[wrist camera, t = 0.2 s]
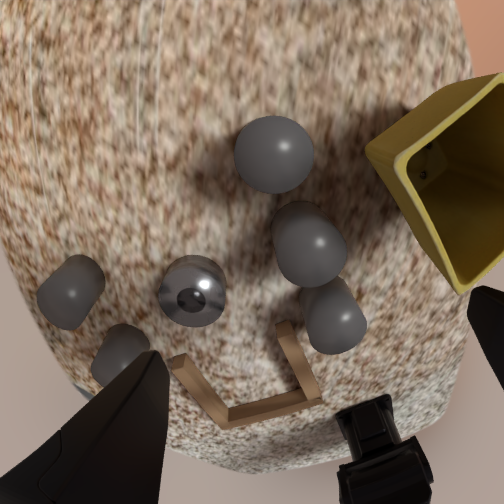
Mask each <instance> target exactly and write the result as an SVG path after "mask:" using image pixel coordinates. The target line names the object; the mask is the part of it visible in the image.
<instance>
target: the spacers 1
mask: <svg viewBox="0 0 504 504" xmlns="http://www.w3.org/2000/svg"><path fill="white" fill-rule="evenodd" d="M104 288H105V277H104V274H103V271H102V269H101V268H100V266H99V265H98V264H97V263H96V262H95V261H94V260H93V259H91V258H89V257H87V256H85V255H73V256H71V257H70V258H69V259H68V260H66V261H65V262H64V263H63V264H62V265H61V266H60V267H59V268H58V269H57V270H56V271H55V272H54V273H53V274H52V275H51V276H50V277H49V278H48V279H47V280H46V281H45V282H44V283H43V284H42V285H41V286H40V288H39V289H38V292H37V302H38V305H39V308H40V310H41V312H42V313H43V315H44V316H45V317H46V318H47V320H48V321H50V322H51V323H52V324H53V325H55V326H56V327H58V328H61V329H64V330H74V329H77V328H78V327H79V326H80V325H81V323H82V322H83V320H84V319H85V317H86V316H87V314H88V313H89V311H90V310H91V308H92V307H93V305H94V304H95V303H96V301H97V300H98V298H99V297H100V295H101V294H102V292H103V291H104ZM149 349H150V343H149V340H148V338H147V337H146V336H145V334H144V333H143V332H142V331H140V330H139V329H138V328H136V327H134V326H131V325H128V324H117V325H114V326H113V327H111V328H110V330H109V332H108V334H107V335H106V337H105V339H104V341H103V343H102V345H101V347H100V349H99V351H98V353H97V355H96V357H95V359H94V361H93V363H92V365H91V373H92V375H93V377H94V379H95V380H96V381H97V382H98V383H99V384H100V385H101V386H103V387H105V386H106V385H107V384H109V383H110V382H111V381H112V380H113V379H114V378H115V377H116V376H117V375H118V374H119V373H120V372H121V371H123V370H124V369H125V368H126V367H127V366H128V365H129V364H130V363H131V362H132V361H133V360H134V359H135V358H136V357H138V356H139V355H140V354H141V353H142V352H144V351H149Z"/></svg>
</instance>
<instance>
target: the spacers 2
mask: <svg viewBox="0 0 504 504" xmlns="http://www.w3.org/2000/svg"><path fill="white" fill-rule="evenodd" d="M313 160H314V150H313V145H312V141H311V139H310V137H309V135H308V134H307V132H306V131H305V130H304V129H303V128H302V127H301V126H300V125H299V124H298V123H296V122H295V121H293V120H291V119H288V118H286V117H281V116H266V117H262V118H258V119H255V120H253V121H251V122H250V123H248V124H247V125H246V126H245V127H244V128H243V129H242V130H241V132H240V134H239V136H238V138H237V141H236V144H235V149H234V161H235V165H236V168H237V171H238V173H239V175H240V176H241V177H242V179H243V180H244V181H245V182H246V183H247V184H248V185H249V186H251V187H252V188H254V189H256V190H258V191H261V192H264V193H269V194H279V193H284V192H287V191H290V190H292V189H294V188H296V187H297V186H299V185H300V184H301V183H302V182H303V181H304V180H305V179H306V177H307V176H308V174H309V172H310V171H311V168H312V165H313ZM271 235H272V239H273V244H274V248H275V252H276V257H277V261H278V265H279V268H280V271H281V272H282V274H283V275H284V277H285V278H286V279H287V280H288V281H290V282H291V283H293V284H295V285H297V286H301V287H303V288H302V289H301V291H300V294H299V304H300V308H301V311H302V315H303V318H304V322H305V325H306V329H307V333H308V336H309V340H310V343H311V345H312V347H313V348H314V349H315V350H317V351H318V352H320V353H323V354H329V355H334V354H340V353H343V352H346V351H348V350H350V349H352V348H353V347H355V346H356V345H357V344H358V343H359V342H360V341H361V340H362V338H363V337H364V335H365V333H366V329H367V321H366V318H365V317H364V315H363V313H362V311H361V309H360V307H359V306H358V304H357V302H356V300H355V298H354V297H353V295H352V293H351V291H350V290H349V288H348V286H347V284H346V283H345V281H344V280H343V279H342V278H340V277H338V276H337V275H338V274H339V273H340V272H341V270H342V268H343V266H344V264H345V262H346V258H347V246H346V243H345V240H344V238H343V236H342V235H341V234H340V232H339V231H338V230H337V229H336V227H335V226H334V225H333V224H332V222H331V221H330V220H329V219H328V217H327V216H326V215H325V214H324V212H323V211H322V210H321V209H320V208H319V207H318V206H316V205H315V204H313V203H310V202H306V201H296V202H292V203H289V204H287V205H285V206H284V207H282V208H281V209H280V210H279V211H278V212H277V213H276V215H275V216H274V218H273V221H272V225H271Z"/></svg>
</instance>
